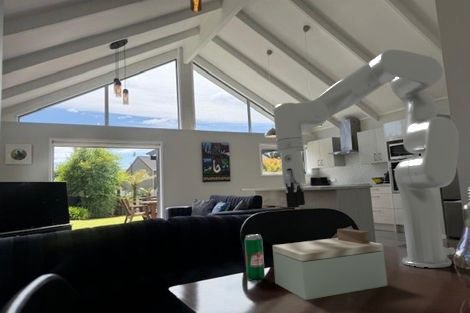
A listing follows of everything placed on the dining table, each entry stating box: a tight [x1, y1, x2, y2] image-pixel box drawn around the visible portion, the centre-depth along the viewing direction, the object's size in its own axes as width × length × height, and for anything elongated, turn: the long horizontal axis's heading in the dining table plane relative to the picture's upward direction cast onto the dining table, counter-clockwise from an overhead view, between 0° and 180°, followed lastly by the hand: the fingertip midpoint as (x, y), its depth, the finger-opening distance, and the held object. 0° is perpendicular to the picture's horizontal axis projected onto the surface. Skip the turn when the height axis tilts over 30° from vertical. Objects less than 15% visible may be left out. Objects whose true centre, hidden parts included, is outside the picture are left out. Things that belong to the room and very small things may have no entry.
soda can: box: [244, 233, 266, 281], centre depth 94 cm, size 5×5×12 cm
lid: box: [272, 228, 384, 261], centre depth 84 cm, size 22×16×4 cm
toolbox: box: [272, 250, 388, 301], centre depth 84 cm, size 22×16×8 cm
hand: (296, 206), depth 93 cm, fingers open, 9 cm apart
